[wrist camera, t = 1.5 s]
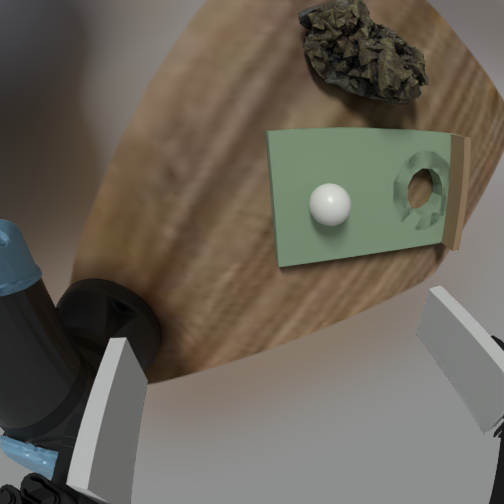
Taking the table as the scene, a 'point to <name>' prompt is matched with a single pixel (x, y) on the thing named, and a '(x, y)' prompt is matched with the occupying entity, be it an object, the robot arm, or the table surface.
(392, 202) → the green
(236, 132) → the table surface
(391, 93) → the rock
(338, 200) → the ball
